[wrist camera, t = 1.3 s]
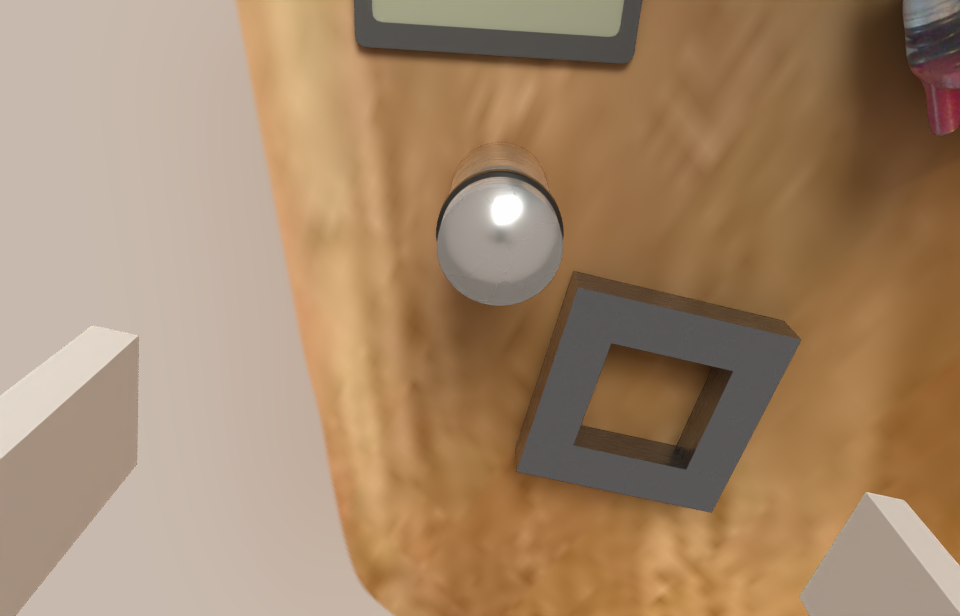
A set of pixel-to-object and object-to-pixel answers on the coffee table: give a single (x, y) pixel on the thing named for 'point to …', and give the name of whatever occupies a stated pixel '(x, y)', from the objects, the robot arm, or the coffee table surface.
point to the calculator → (503, 27)
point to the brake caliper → (935, 57)
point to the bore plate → (666, 331)
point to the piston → (499, 227)
